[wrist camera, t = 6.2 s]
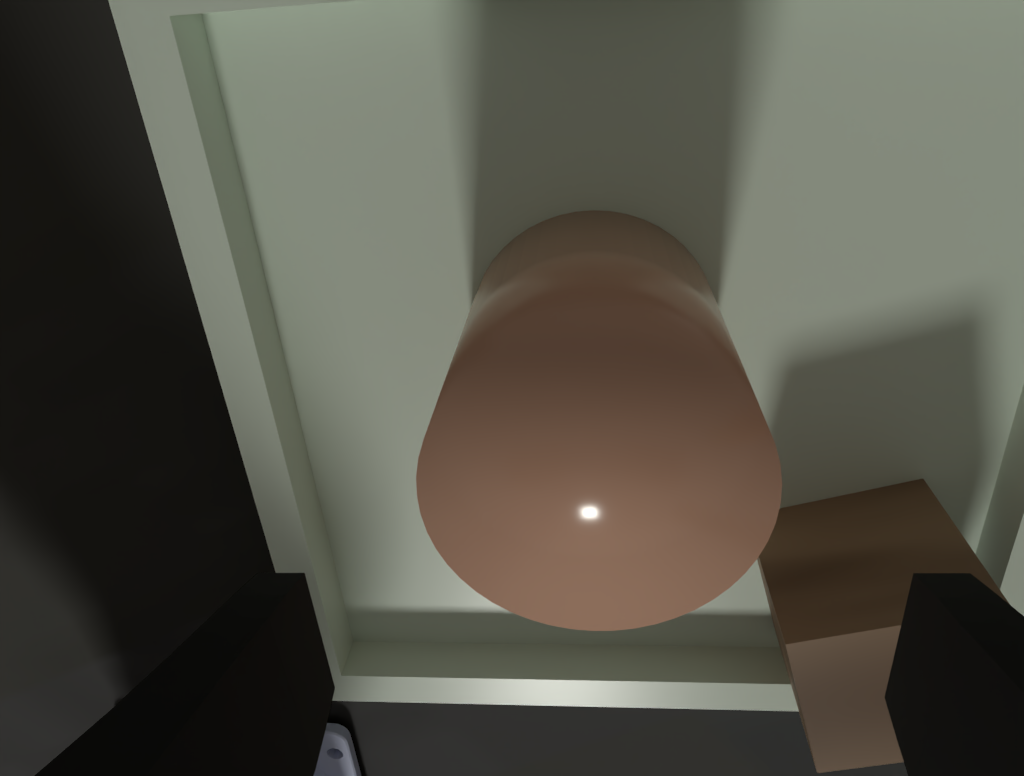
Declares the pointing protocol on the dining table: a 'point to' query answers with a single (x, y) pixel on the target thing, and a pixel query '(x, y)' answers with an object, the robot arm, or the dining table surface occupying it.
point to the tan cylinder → (597, 433)
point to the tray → (583, 187)
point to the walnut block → (854, 608)
